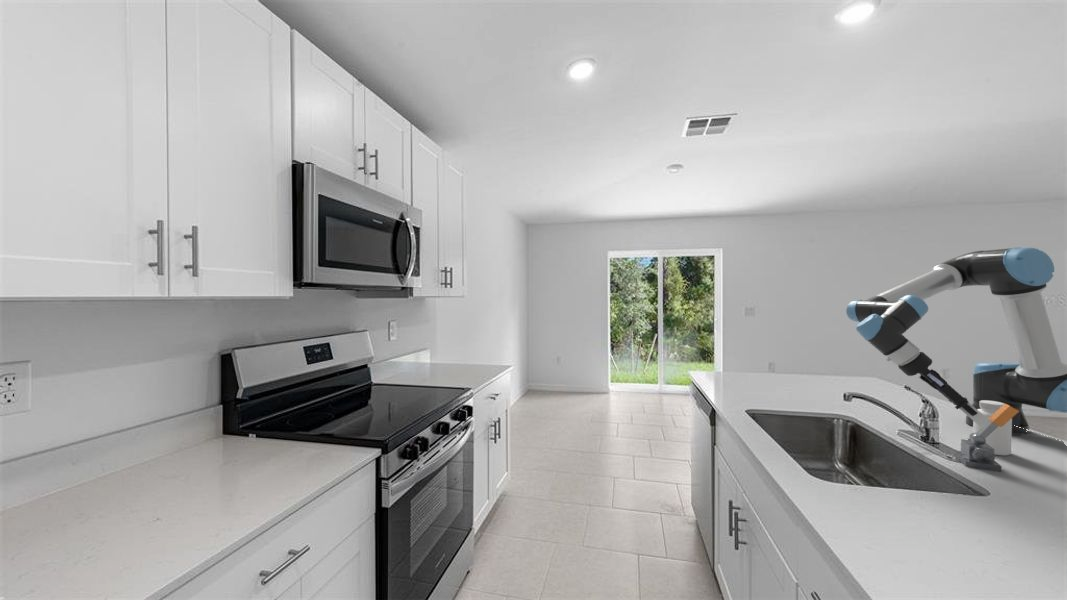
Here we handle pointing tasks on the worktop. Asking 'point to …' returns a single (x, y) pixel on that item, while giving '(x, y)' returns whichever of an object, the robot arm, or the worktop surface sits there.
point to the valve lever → (994, 423)
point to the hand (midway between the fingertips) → (984, 422)
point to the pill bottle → (1000, 435)
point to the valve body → (977, 455)
